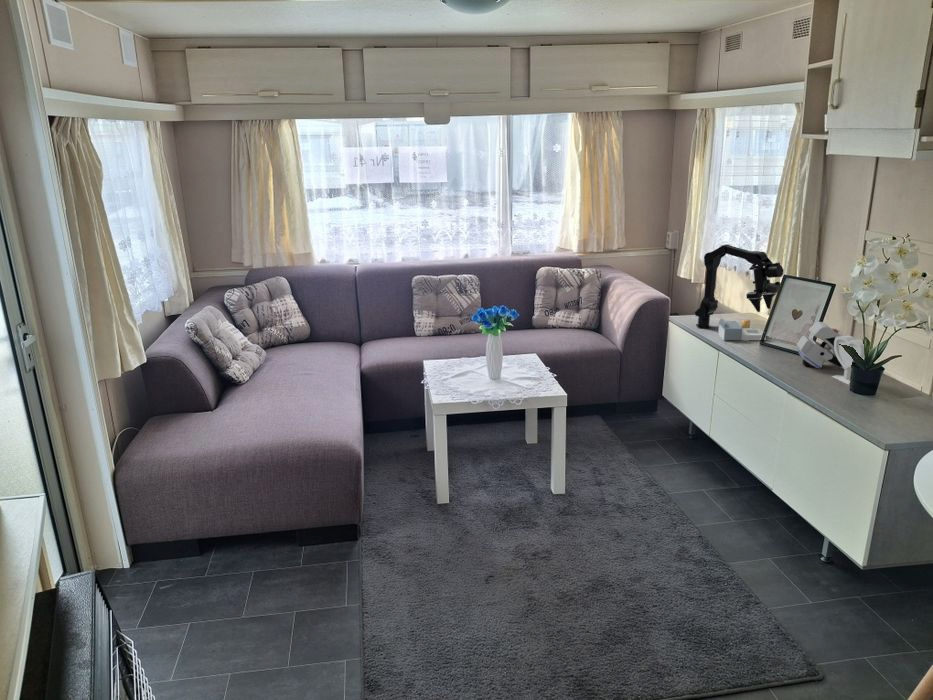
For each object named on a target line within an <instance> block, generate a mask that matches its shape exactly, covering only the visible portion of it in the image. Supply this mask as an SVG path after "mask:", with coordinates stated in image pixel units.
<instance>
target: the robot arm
mask: <svg viewBox="0 0 933 700" xmlns="http://www.w3.org/2000/svg"><path fill="white" fill-rule="evenodd" d="M726 255H730V256H732V257H733V256H734V257H737V258H739V259H743V260H745V261H746V262H747V263H749V264H751V266H750V267H749V268H748V270H749V271H752V270H753V277H754V278H753V281H752V284H754V289H753V291H749V292H747V293H746V295H745V296H746V297H745V298H746V299H747V300H748V301H750V303H751V304H752V306H753V307H754V309H755V310H756V312H757V313H761V301H762V299H763V301H764V304H765V305H766V308H767V309H768V310H770V309H771V306H772V301H773V298H774V297H775V296H777V293H779V292H778V290H779V288H780V285H781V286H782V283H781V282H780V281H775V282H771V280H770V278H771V279H773V278H781V277H783V275H784V268H783V265H781V262H775V263H773V262H772V261H771V259H770V258H769V257H768V255H767V253H766V252H765V251H760V250H747V249H743V248H740V247H737V246H733V245H731V244H729V243H728V244H723V245H721V246H719V247H718V248H716V249H714V250H712V251H709V252H707V253H705V254H704V256H703V264H704V266H705V269H706V272H705V273H706V274H705V281H704V282H705V285H704V295H703V298H702V300H701V301H700V305H699V308H698V309H696V311H694V315H695V317H698V318H697V323H696V325H695V326H696V328H698V329H711V328H712V326H711V325H710V322H711V321H710V320H711V319H710V317H711V316H712V315H714V312H716V311H717V309H718V308H719V307H718V304H719V300H718V299H716V298H715V290H716V279H717V273H718V272H717V270H718V268H719V266H720V264H721V261H722V258H723V257H725V256H726ZM779 291H780V290H779Z"/></svg>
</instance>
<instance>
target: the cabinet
mask: <svg viewBox="0 0 933 700" xmlns="http://www.w3.org/2000/svg"><path fill="white" fill-rule="evenodd" d="M719 324H720V325H721V326H722V327H723V329H724V330H725V333H724V340H741V337H742V328H741V327H742V326H740V324H738V322H737V321H736V320H732V321H731V320H725V319H724V318H722V317H720V318H719V321H718V325H719ZM717 329H718V331H717V333H719V327H718V328H717ZM724 340H723V341H724Z"/></svg>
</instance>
